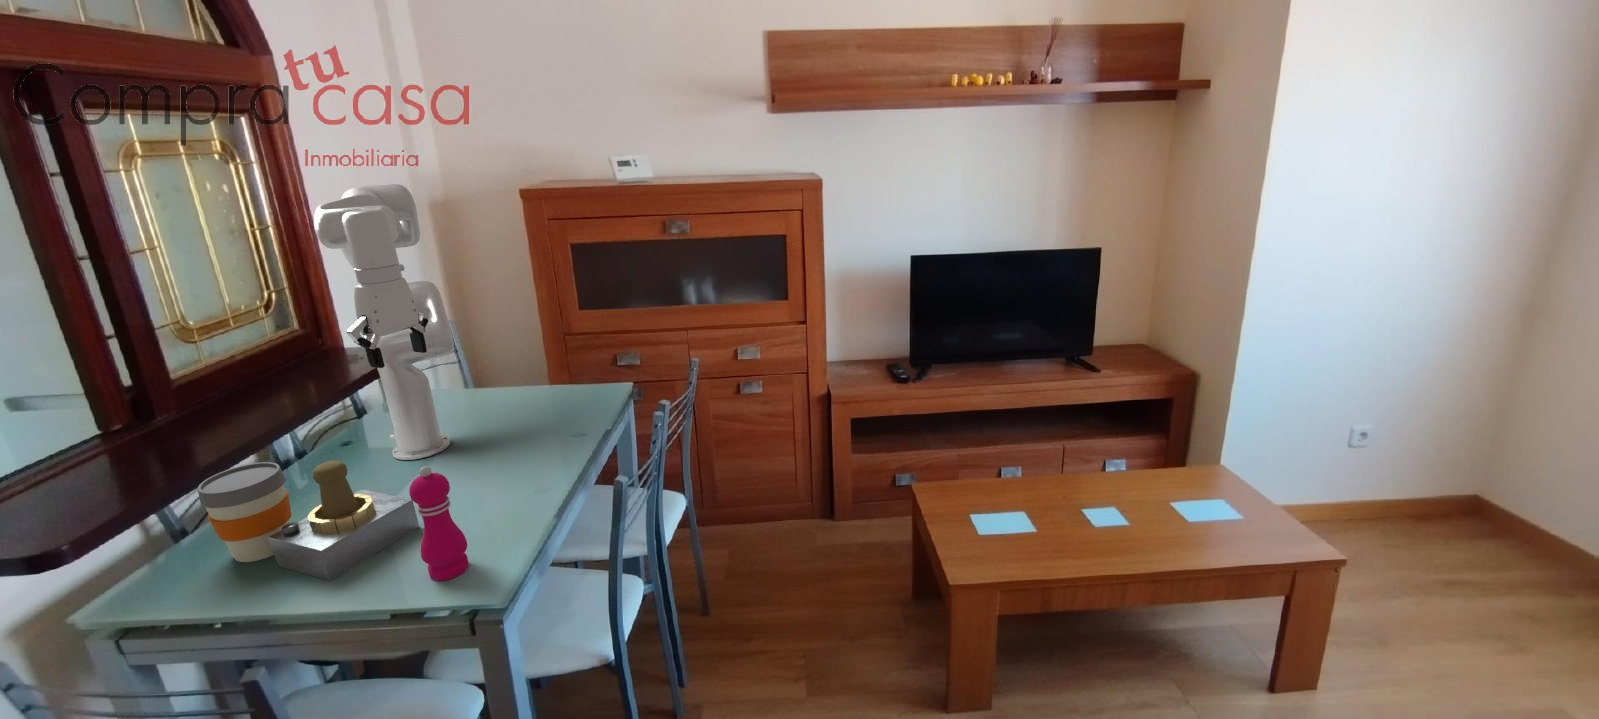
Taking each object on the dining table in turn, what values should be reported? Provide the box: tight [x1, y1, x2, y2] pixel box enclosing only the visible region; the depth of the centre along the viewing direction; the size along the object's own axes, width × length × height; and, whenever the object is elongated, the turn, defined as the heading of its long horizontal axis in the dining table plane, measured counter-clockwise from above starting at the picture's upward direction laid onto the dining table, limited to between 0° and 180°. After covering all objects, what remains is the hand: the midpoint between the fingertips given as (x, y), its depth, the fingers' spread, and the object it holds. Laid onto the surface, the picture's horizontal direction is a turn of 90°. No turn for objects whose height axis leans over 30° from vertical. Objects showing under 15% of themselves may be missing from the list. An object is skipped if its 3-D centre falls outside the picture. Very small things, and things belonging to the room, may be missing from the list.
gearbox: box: [269, 488, 420, 581], centre depth 129 cm, size 14×18×8 cm
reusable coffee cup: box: [197, 461, 292, 563], centre depth 129 cm, size 13×13×15 cm
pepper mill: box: [408, 466, 470, 582], centre depth 118 cm, size 7×7×20 cm
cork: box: [312, 460, 360, 520], centre depth 127 cm, size 6×6×11 cm
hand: (399, 359), depth 139 cm, fingers open, 9 cm apart
